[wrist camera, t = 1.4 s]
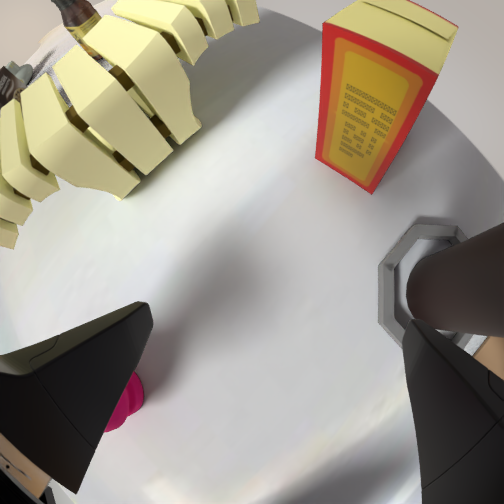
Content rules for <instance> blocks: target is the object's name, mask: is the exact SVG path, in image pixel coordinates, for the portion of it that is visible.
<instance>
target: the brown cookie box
mask: <svg viewBox="0 0 504 504" xmlns="http://www.w3.org/2000/svg"><path fill="white" fill-rule="evenodd" d="M26 88H27V86H26V85H25V84H24V83H23V82H21V81H20V80H19V79H18V78H17V77H16V76H15V75H13V74H12V73H11V72H10V71H9V70H8V69H7V68H6V67H4V66H3V67H2V68H1V69H0V118H1V108H2V107H3V106H5V105H6V104H7V103H9V102H10V101H11V100H12V99H15V100H17V101H18V102H19V103H20V106H21V112H22V104H21V94H20V93H21V92H23V91H24V90H25V89H26ZM22 117H23V112H22ZM23 120H24V119H23Z"/></svg>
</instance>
